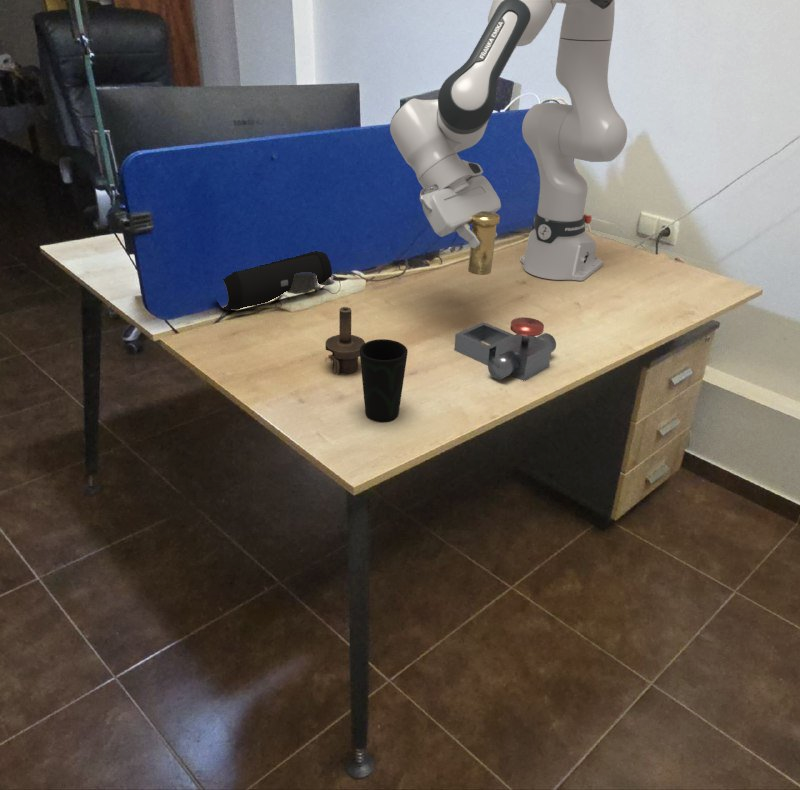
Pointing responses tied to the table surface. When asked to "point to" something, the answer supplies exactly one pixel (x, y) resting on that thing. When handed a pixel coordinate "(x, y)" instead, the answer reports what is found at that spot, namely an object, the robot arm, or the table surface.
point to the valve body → (508, 348)
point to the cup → (382, 378)
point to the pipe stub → (483, 242)
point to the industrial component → (344, 345)
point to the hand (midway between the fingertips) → (485, 242)
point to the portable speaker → (272, 279)
